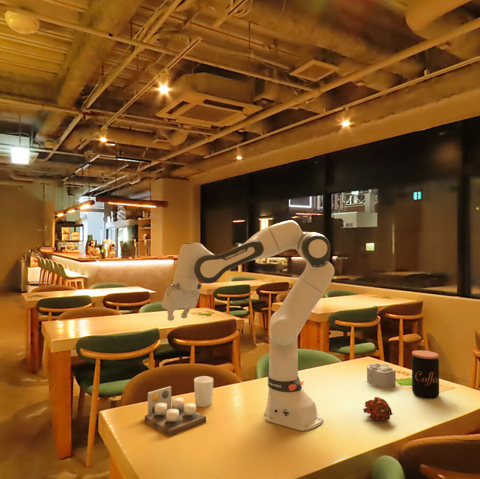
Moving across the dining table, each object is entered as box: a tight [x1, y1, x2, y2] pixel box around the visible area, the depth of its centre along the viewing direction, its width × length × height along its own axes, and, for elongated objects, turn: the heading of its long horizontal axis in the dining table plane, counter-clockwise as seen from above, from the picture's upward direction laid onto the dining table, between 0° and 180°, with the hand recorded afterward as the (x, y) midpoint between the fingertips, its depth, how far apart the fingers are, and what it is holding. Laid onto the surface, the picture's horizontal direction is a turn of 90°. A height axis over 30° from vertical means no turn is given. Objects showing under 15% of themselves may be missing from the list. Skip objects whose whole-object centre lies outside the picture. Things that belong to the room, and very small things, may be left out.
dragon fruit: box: [362, 396, 393, 422], centre depth 147 cm, size 8×8×12 cm
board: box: [144, 406, 207, 437], centre depth 145 cm, size 16×16×2 cm
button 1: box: [184, 402, 197, 415], centre depth 145 cm, size 4×4×2 cm
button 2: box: [166, 409, 179, 421], centre depth 139 cm, size 4×4×2 cm
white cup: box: [193, 375, 214, 408], centre depth 162 cm, size 8×8×10 cm
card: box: [147, 385, 172, 415], centre depth 152 cm, size 1×10×9 cm, turn 134°
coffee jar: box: [411, 349, 440, 400], centre depth 172 cm, size 11×11×18 cm
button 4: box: [155, 403, 167, 415], centre depth 145 cm, size 4×4×2 cm
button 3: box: [171, 397, 185, 409], centre depth 150 cm, size 4×4×2 cm
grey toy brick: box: [366, 362, 397, 389], centre depth 187 cm, size 10×13×9 cm
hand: (177, 319), depth 150 cm, fingers open, 8 cm apart
